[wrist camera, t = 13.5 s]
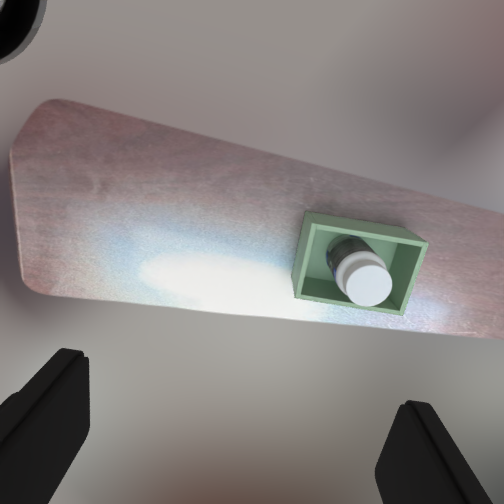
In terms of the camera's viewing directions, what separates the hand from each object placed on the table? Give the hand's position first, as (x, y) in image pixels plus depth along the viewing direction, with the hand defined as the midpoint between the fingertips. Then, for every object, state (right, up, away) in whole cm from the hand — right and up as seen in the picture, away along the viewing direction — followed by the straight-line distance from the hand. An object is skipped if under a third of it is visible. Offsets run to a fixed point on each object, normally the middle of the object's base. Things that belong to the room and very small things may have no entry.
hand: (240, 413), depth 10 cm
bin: (+11, +5, +27) cm, 29 cm away
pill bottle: (+11, +5, +26) cm, 29 cm away
